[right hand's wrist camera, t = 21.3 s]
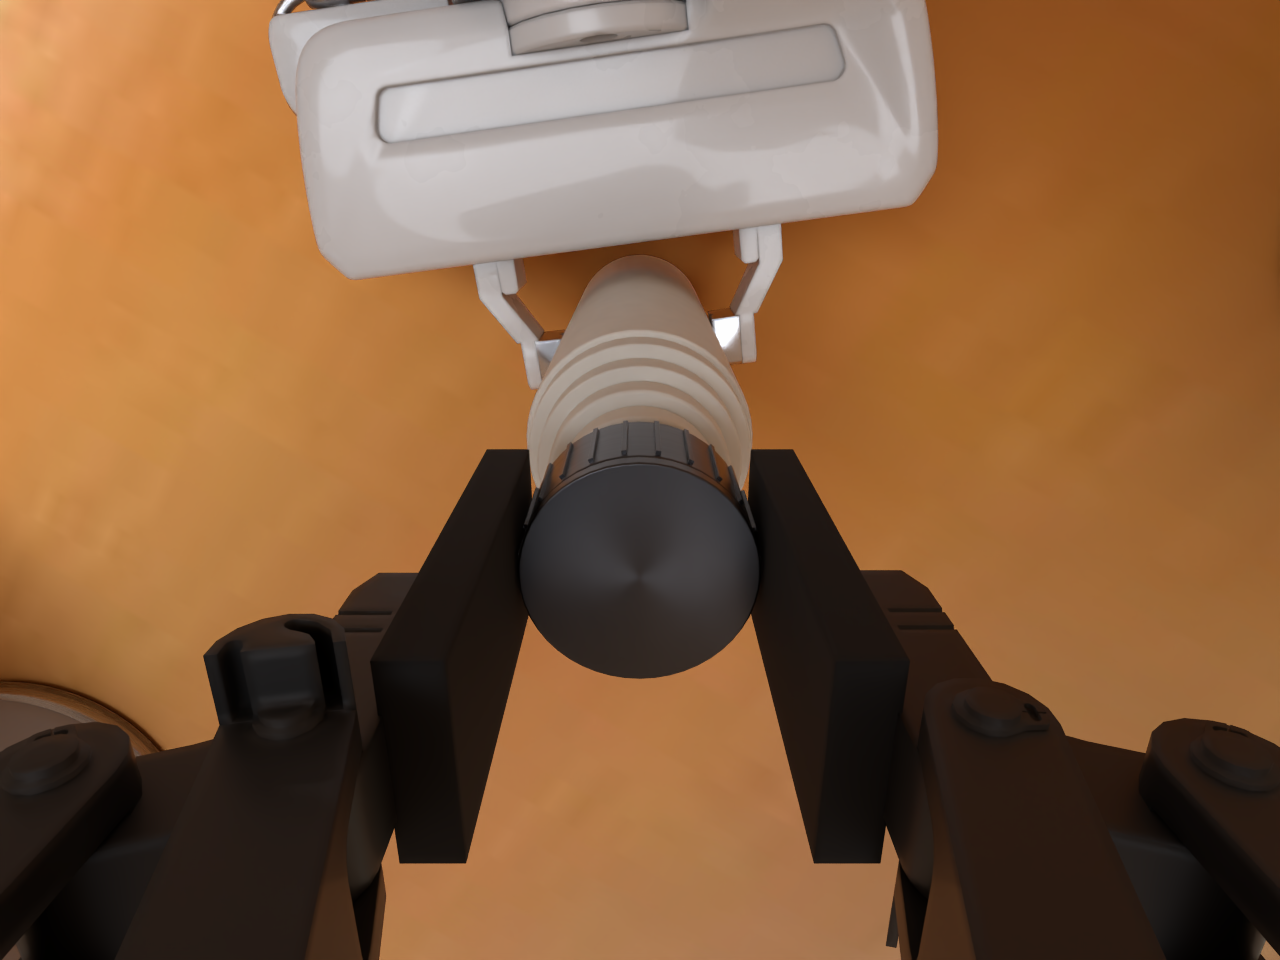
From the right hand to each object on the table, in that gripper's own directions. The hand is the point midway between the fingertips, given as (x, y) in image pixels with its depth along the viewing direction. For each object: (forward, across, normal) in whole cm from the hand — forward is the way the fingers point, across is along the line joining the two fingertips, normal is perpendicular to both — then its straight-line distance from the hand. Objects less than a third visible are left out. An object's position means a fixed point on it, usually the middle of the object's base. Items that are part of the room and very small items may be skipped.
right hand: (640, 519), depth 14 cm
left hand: (+15, 0, -1) cm, 15 cm away
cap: (-2, 0, 0) cm, 2 cm away
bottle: (+22, 0, 0) cm, 22 cm away
